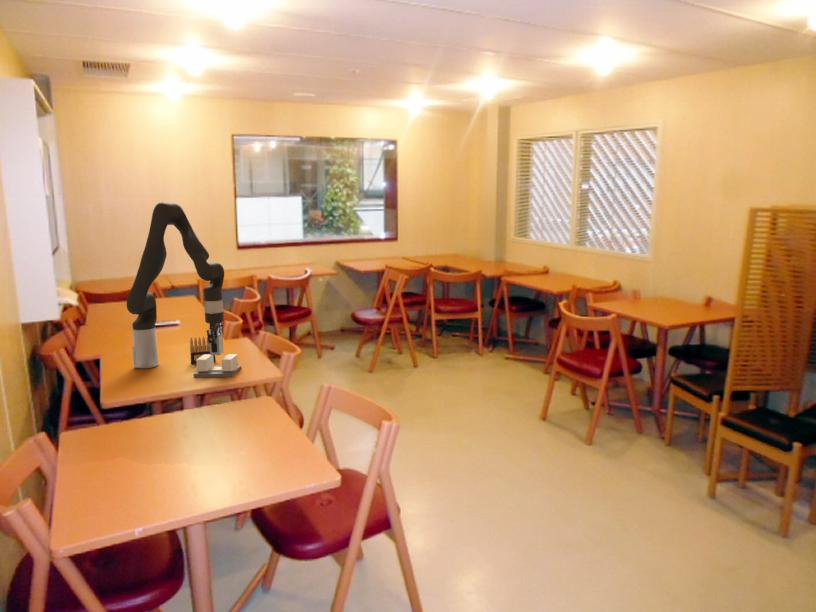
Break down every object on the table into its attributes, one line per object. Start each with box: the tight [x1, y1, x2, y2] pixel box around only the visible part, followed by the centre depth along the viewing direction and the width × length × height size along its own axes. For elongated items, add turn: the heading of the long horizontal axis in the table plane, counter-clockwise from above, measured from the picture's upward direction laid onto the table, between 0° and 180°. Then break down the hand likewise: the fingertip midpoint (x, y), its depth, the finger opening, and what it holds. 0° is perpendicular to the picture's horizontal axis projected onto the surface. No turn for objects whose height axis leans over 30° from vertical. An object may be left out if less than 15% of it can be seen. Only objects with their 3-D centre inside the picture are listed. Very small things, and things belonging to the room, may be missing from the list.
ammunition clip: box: [189, 336, 217, 365], centre depth 273 cm, size 11×2×12 cm, turn 108°
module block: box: [210, 333, 225, 356], centre depth 254 cm, size 4×5×8 cm
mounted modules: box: [196, 353, 239, 372], centre depth 255 cm, size 14×9×5 cm, turn 88°
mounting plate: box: [193, 365, 242, 379], centre depth 256 cm, size 16×13×2 cm
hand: (216, 350), depth 254 cm, fingers closed on module block, 5 cm apart
